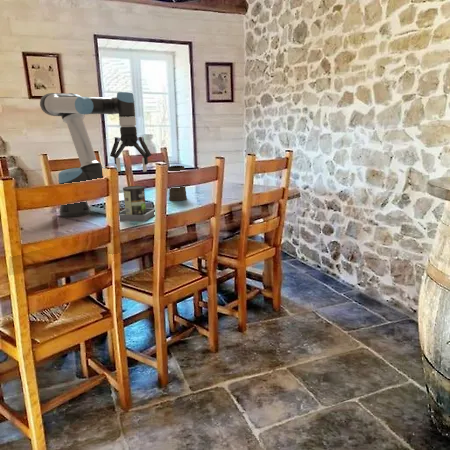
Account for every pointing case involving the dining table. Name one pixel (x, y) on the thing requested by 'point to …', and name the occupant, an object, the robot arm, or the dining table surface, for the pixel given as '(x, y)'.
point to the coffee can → (134, 200)
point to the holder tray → (137, 217)
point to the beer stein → (177, 193)
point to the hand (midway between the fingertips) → (131, 171)
